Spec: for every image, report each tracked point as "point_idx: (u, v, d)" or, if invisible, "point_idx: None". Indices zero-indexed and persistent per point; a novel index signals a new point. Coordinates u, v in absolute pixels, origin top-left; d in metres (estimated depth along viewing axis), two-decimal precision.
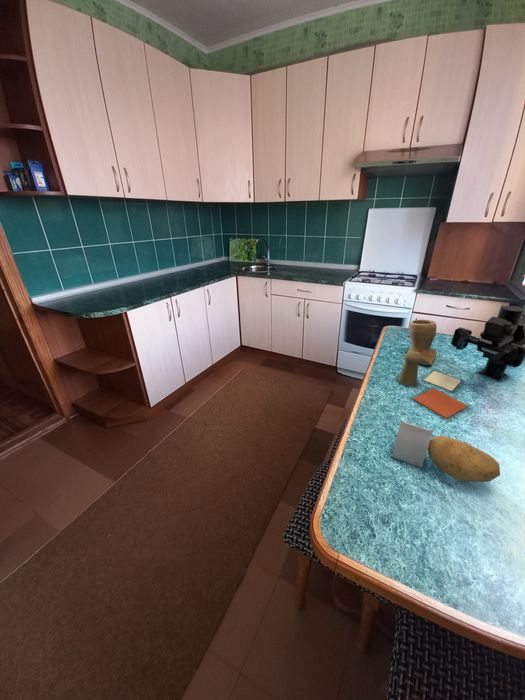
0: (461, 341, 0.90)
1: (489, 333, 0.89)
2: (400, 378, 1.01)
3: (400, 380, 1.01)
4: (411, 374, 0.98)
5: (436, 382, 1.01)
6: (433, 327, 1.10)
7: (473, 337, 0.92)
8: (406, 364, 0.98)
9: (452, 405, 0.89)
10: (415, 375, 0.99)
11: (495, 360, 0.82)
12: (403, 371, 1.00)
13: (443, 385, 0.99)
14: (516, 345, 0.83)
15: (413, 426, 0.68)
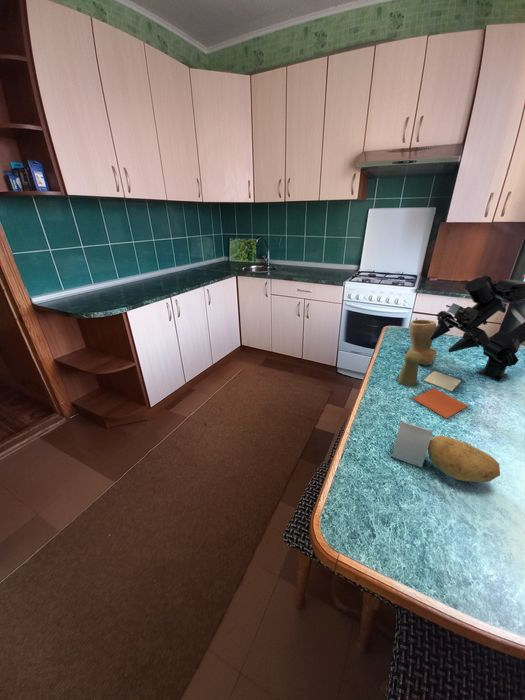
0: (435, 330, 1.00)
1: (459, 316, 0.93)
2: (400, 378, 1.01)
3: (400, 380, 1.01)
4: (411, 374, 0.98)
5: (436, 382, 1.01)
6: (433, 327, 1.10)
7: (451, 320, 0.97)
8: (406, 364, 0.98)
9: (452, 405, 0.89)
10: (415, 375, 0.99)
11: (455, 349, 0.92)
12: (403, 371, 1.00)
13: (443, 385, 0.99)
14: (472, 331, 0.87)
15: (413, 426, 0.68)
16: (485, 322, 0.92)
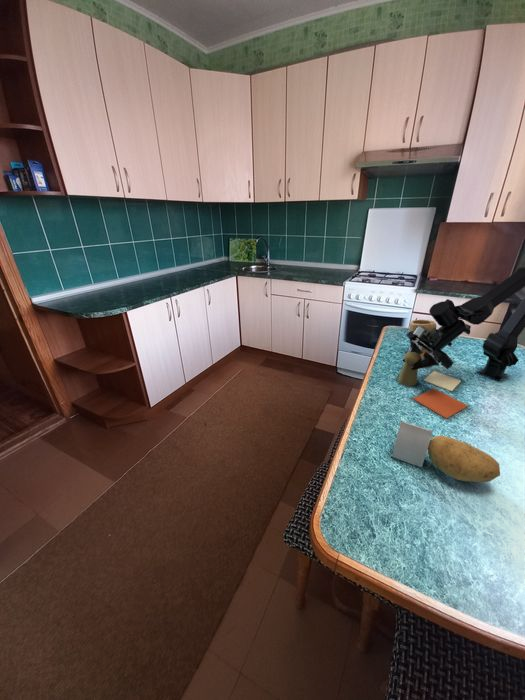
0: None
1: None
2: (400, 378, 1.01)
3: (400, 380, 1.01)
4: (411, 374, 0.98)
5: (436, 382, 1.01)
6: (433, 327, 1.10)
7: (422, 343, 0.98)
8: (406, 364, 0.98)
9: (452, 405, 0.89)
10: (415, 375, 0.99)
11: (417, 368, 0.96)
12: (403, 371, 1.00)
13: (443, 385, 0.99)
14: (435, 353, 0.90)
15: (413, 426, 0.68)
16: (450, 344, 0.94)
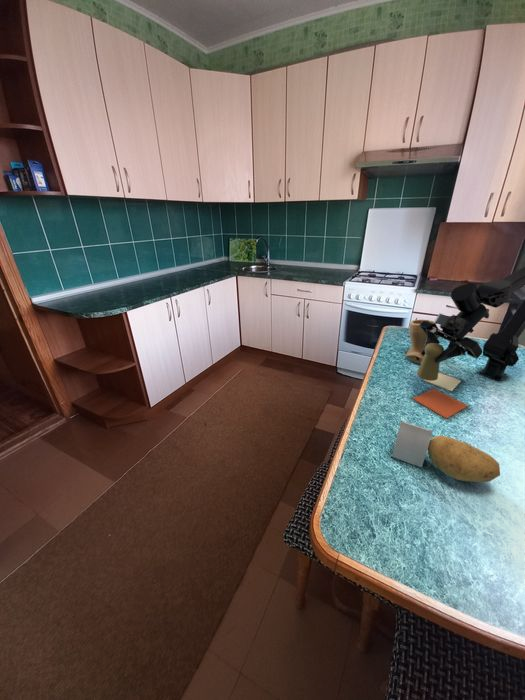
0: None
1: None
2: (421, 373, 0.92)
3: (421, 375, 0.92)
4: (434, 367, 0.89)
5: (436, 382, 1.01)
6: None
7: (441, 332, 0.90)
8: (428, 357, 0.89)
9: (452, 405, 0.89)
10: (438, 368, 0.90)
11: (441, 360, 0.87)
12: (424, 365, 0.90)
13: (443, 385, 0.99)
14: (464, 342, 0.81)
15: (413, 426, 0.68)
16: (472, 330, 0.87)
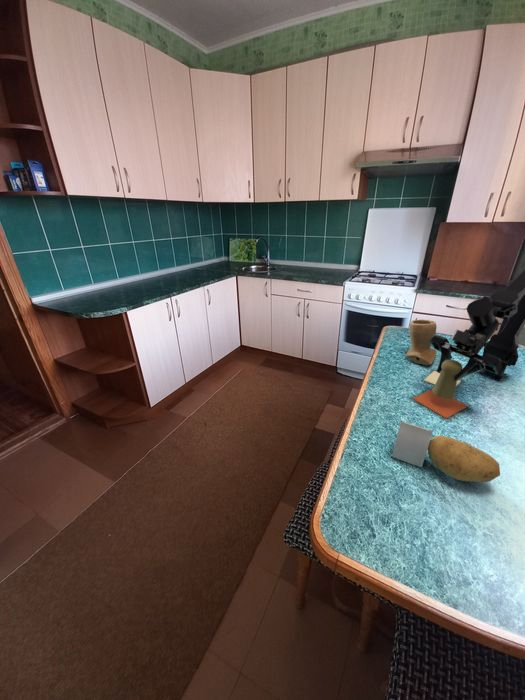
0: (442, 362, 0.87)
1: (461, 342, 0.84)
2: (439, 391, 0.88)
3: (439, 394, 0.88)
4: (453, 385, 0.85)
5: None
6: (433, 327, 1.10)
7: (456, 348, 0.86)
8: (446, 375, 0.85)
9: (452, 405, 0.89)
10: None
11: (461, 377, 0.84)
12: (443, 383, 0.86)
13: None
14: (486, 359, 0.78)
15: (413, 426, 0.68)
16: (485, 344, 0.85)
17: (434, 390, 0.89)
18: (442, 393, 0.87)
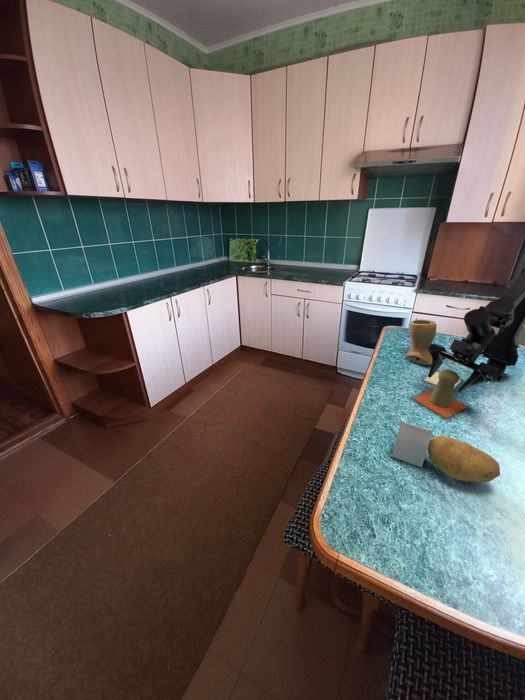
0: (432, 367, 0.90)
1: None
2: (436, 401, 0.89)
3: (436, 403, 0.89)
4: (450, 394, 0.87)
5: (436, 382, 1.01)
6: (433, 327, 1.10)
7: (446, 354, 0.89)
8: (443, 385, 0.87)
9: (452, 405, 0.89)
10: (452, 395, 0.88)
11: (465, 389, 0.83)
12: (439, 393, 0.88)
13: None
14: (483, 368, 0.80)
15: (413, 426, 0.68)
16: (482, 353, 0.86)
17: (431, 399, 0.91)
18: (439, 402, 0.88)
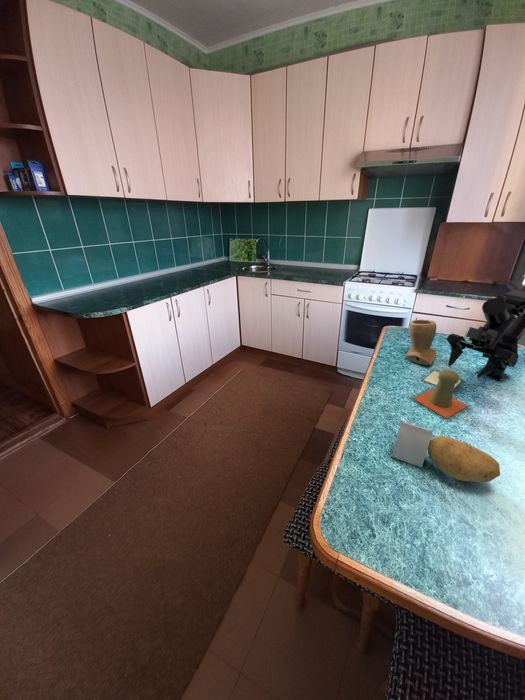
0: (452, 356, 0.94)
1: None
2: (436, 401, 0.89)
3: (436, 403, 0.89)
4: (450, 394, 0.87)
5: (436, 382, 1.01)
6: (433, 327, 1.10)
7: (464, 342, 0.93)
8: (443, 385, 0.87)
9: (452, 405, 0.89)
10: (452, 395, 0.88)
11: (484, 374, 0.86)
12: (439, 393, 0.88)
13: None
14: (500, 353, 0.83)
15: (413, 426, 0.68)
16: (501, 339, 0.89)
17: (431, 399, 0.91)
18: (439, 402, 0.88)
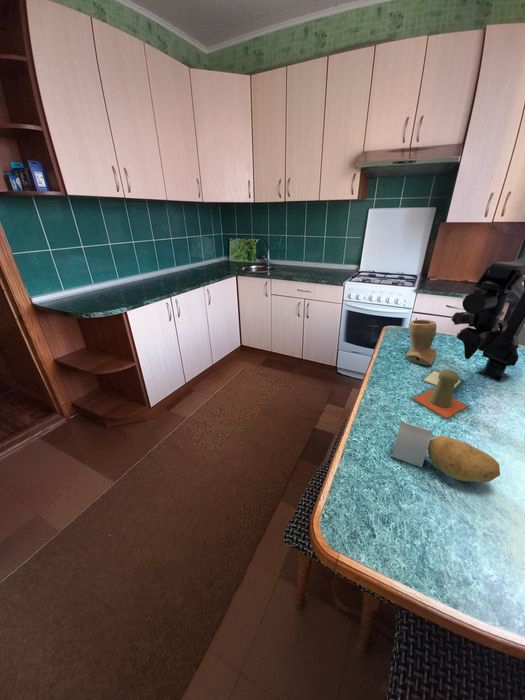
0: None
1: None
2: (436, 401, 0.89)
3: (436, 403, 0.89)
4: (450, 394, 0.87)
5: (436, 382, 1.01)
6: (433, 327, 1.10)
7: None
8: (443, 385, 0.87)
9: (452, 405, 0.89)
10: (452, 395, 0.88)
11: (469, 355, 0.88)
12: (439, 393, 0.88)
13: None
14: None
15: (413, 426, 0.68)
16: (494, 316, 0.83)
17: (431, 399, 0.91)
18: (439, 402, 0.88)
